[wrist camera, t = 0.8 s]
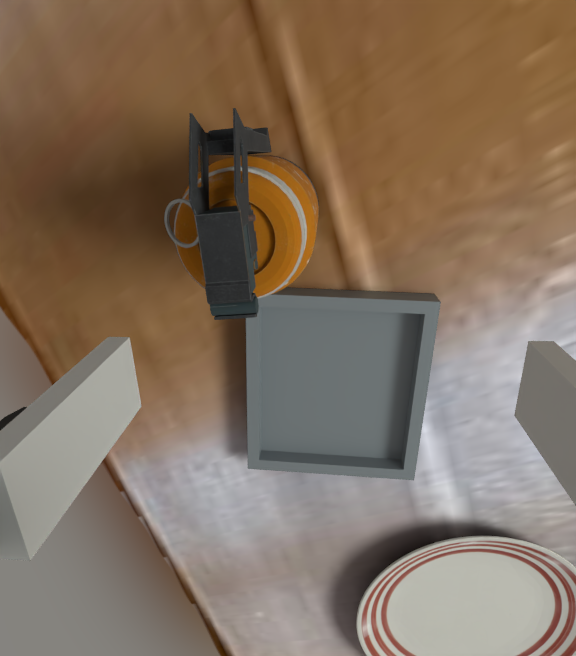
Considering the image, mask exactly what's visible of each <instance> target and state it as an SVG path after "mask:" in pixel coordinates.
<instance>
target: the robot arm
mask: <svg viewBox="0 0 576 656" xmlns="http://www.w3.org/2000/svg"><path fill="white" fill-rule="evenodd" d="M140 408H141V401H140V395H139V389H138V383H137V378H136V372H135V366H134V360H133V354H132V349H131V343H130V337H108V338H106V339H105V340H104V341H103V342H102V343H101V344H100V345H98V346H97V347H96V348H95V349H94V350H93V351H91V352H90V353H89V354H88V355H87V356H86V357H85V358H83V359H82V360H81V361H80V362H79V363H78V364H77V365H75V366H74V367H73V368H72V369H71V370H70V371H68V372H67V373H66V374H65V375H64V376H63V377H62V378H60V379H59V380H58V381H57V382H56V383H55V384H53V385H52V386H51V387H50V388H49V389H48V390H47V391H46V392H44V393H43V394H42V395H41V396H40V397H39V398H38V399H36V400H35V401H34V402H33V403H32V404H30V405H29V406H28V407H23V408H21V409H19V410H17V411H15V412H14V413H12V414H10V415H8V416H6V417H4V418H3V419H2V420H1V421H0V559H9V560H10V559H11V560H28V561H31V559H32V558H33V556H34V555H35V554H36V552H37V551H38V550H39V548H40V547H41V545H42V544H43V542H44V541H45V540H46V538H47V537H48V536H49V534H50V533H51V531H52V530H53V529H54V527H55V526H56V525H57V523H58V522H59V520H60V519H61V518H62V516H63V515H64V513H65V512H66V511H67V509H68V508H69V506H70V505H71V504H72V502H73V501H74V499H75V498H76V497H77V495H78V494H79V493H80V491H81V490H82V488H83V487H84V485H85V484H86V483H87V481H88V480H89V479H90V477H91V476H92V474H93V473H94V472H95V470H96V469H97V467H98V466H99V465H100V463H101V462H102V461H103V459H104V458H105V456H106V455H107V454H108V452H109V451H110V449H111V448H112V447H113V445H114V444H115V442H116V441H117V440H118V438H119V437H120V436H121V434H122V433H123V431H124V430H125V429H126V427H127V426H128V424H129V423H130V422H131V420H132V419H133V417H134V416H135V415H136V413H137V412H138V410H139V409H140ZM514 416H515V417H516V418H517V420H518V421H519V423H520V424H521V426H522V427H523V429H524V430H525V432H526V433H527V435H528V436H529V438H530V439H531V441H532V442H533V443H534V445H535V446H536V448H537V449H538V451H539V452H540V454H541V455H542V457H543V458H544V460H545V461H546V463H547V464H548V466H549V467H550V469H551V470H552V471H553V473H554V474H555V476H556V477H557V479H558V480H559V482H560V483H561V485H562V486H563V488H564V489H565V491H566V492H567V494H568V495H569V496H570V498H571V499H572V501H573V502H574V504H575V505H576V361H575V360H574V359H573V358H572V357H571V356H570V355H569V354H567V353H566V352H565V351H564V350H563V349H562V348H561V347H559V346H558V345H557V344H556V343H555V342H554V341H528V346H527V352H526V357H525V362H524V368H523V373H522V378H521V383H520V389H519V394H518V399H517V404H516V410H515V415H514Z"/></svg>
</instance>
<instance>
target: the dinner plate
mask: <svg viewBox="0 0 576 656" xmlns="http://www.w3.org/2000/svg"><path fill="white" fill-rule="evenodd" d="M356 628H357V634H358V638H359V642H360V644H361V647H362V649H363V651H364V653H365V654H366V656H576V568H575V567H574V566H573V565H572V564H571V563H570V562H568V561H567V560H566V559H564V558H563V557H561V556H560V555H558V554H557V553H555V552H553V551H551V550H549V549H546V548H544V547H542V546H539V545H537V544H533V543H530V542H527V541H523V540H518V539H512V538H507V537H498V536H467V537H459V538H452V539H447V540H443V541H439V542H435V543H432V544H429V545H426V546H424V547H421V548H419V549H416V550H414V551H412V552H410V553H408V554H406V555H404V556H403V557H401V558H399V559H398V560H396V561H395V562H393V563H392V564H390V565H389V566H388V567H387V568H385V569H384V570H383V571H382V572H381V573H380V574H379V575H378V576H377V577H376V578H375V579H374V580H373V581H372V583H371V584H370V585H369V587H368V588H367V590H366V591H365V593H364V595H363V597H362V599H361V601H360V604H359V607H358V611H357V618H356Z"/></svg>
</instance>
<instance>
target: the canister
mask: <svg viewBox="0 0 576 656" xmlns="http://www.w3.org/2000/svg"><path fill="white" fill-rule="evenodd" d="M233 126H234V128H231V129H222V130H213V131H209V132H208V133H205V132H204V130H203V129H202V127H201V126H200V124H199V123H198V122H197V120H196V119H195V117H194V116H193V114H192V113H190V135H189V185H188V187H187V189H186V190H185V192H184V194H183V197H182V199H175V200H173V201H171V202H170V203H169V204H168V206H167V208H166V210H165V216H164V221H165V227H166V230H167V232H168V234H169V236H170V238H171V239H172V240H173V241H174V242H175V245H176V249H177V253H178V255H179V257H180V260H181V262H182V264H183V265H184V267H185V269H186V270H187V272H188V273H189V274H190V275H191V277H192V278H193V279H194V280H195V281H196V282H197V283H198V284H199V285H201V286H202V287H203V288H205V289H206V295H207V302H208V304H210V310H211V314H212V316H215V317H214V319H215V320H221V319H237V318H253V317H257V313H258V310H259V305H258V299H259V298H262V297H266V296H268V295H270V294H274V293H276V292H278V291H280V290H282V289H284V288H285V287H287V286H288V285H289V284H291V283H292V282H293V281H294V280H295V279H296V278H297V277H298V276H299V275H300V274H301V273H302V271H303V270H304V269H305V267H306V265H307V263H308V261H309V260H310V258H311V255H312V252H313V249H314V244H315V238H316V231H317V223H318V215H319V203H318V197H317V193H316V190H315V188H314V186H313V183H312V181H311V180H310V179H309V177H308V176H307V174H306V173H305V172H304V171H303V170H302V169H301V168H300V167H298V166H297V165H296V164H294V163H293V162H291V161H289V160H287V159H284V158H281V157H276V156H248V154H257V153H267V152H271V146H270V140H269V134H268V128H258V129H252V128H249V127H244V126H243V124H242V121H241V119H240V117H239V115H238V113H237V111H236V109H235V108H233ZM198 144H199V146H200V158H201V172H200V173H198ZM208 155H234V157H229V158H225V159H222V160H219V161H217V162H214V163H213V164H211V165H209V163H208ZM240 155H242V156H240ZM179 202H180V204H179V206H178V209H177V211H176V216H175V221H174V234H173V232H172V230H171V227H170V222H169V215H170V211H171V209H172V207H173V206H174V205H175V204H176V203H179Z"/></svg>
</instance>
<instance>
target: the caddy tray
mask: <svg viewBox="0 0 576 656" xmlns="http://www.w3.org/2000/svg"><path fill="white" fill-rule="evenodd" d="M440 303H441V302H440V300H439V299H438V298H437V297H436V295H435V294H428V293H404V292H380V291H357V290H333V289H310V288H286V287H285V288H284V289H282V290H280V291H278V292H276V293H274V294H270V295H268V296H266V297H262V298H259V299H258V305H259V310H258V313H257V317H253V318H246V369H247V444H248V469H260V470H275V471H289V472H304V473H318V474H332V475H347V476H361V477H376V478H390V479H404V480H414V476H415V470H416V463H417V456H418V450H419V443H420V436H421V430H422V423H423V416H424V410H425V403H426V396H427V390H428V383H429V376H430V370H431V363H432V356H433V350H434V343H435V336H436V330H437V323H438V316H439V310H440Z"/></svg>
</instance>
